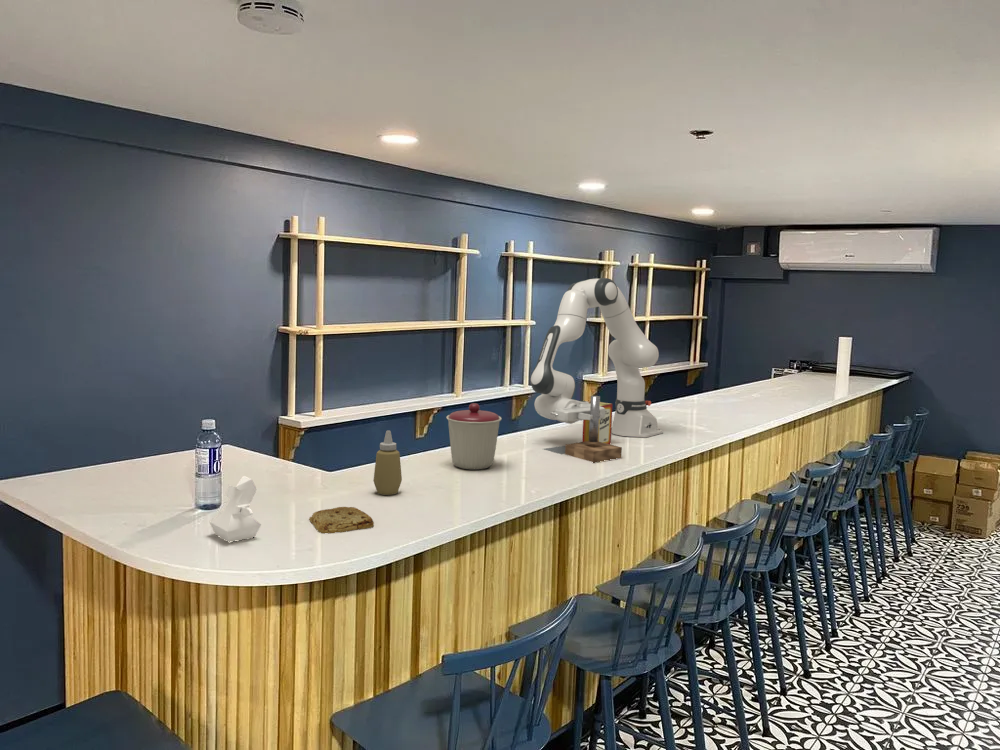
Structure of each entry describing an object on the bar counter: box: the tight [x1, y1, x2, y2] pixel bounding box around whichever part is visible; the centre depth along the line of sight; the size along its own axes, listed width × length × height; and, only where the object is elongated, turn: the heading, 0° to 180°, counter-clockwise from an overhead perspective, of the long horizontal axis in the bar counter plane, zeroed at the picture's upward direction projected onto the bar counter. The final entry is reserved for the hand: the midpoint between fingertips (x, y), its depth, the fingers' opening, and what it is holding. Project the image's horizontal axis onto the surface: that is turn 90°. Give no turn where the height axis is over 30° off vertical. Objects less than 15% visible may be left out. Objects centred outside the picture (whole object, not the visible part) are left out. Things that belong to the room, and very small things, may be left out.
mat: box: [543, 445, 565, 455], centre depth 290 cm, size 12×10×1 cm
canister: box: [445, 402, 502, 471], centre depth 260 cm, size 18×18×21 cm
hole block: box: [564, 441, 622, 464], centre depth 281 cm, size 14×14×4 cm
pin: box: [589, 395, 601, 442], centre depth 279 cm, size 3×3×16 cm
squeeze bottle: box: [373, 430, 403, 496], centre depth 225 cm, size 8×8×18 cm
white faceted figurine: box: [209, 475, 262, 542], centre depth 184 cm, size 8×14×14 cm, turn 44°
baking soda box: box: [581, 401, 613, 445], centre depth 302 cm, size 10×6×16 cm
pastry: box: [308, 506, 375, 534], centre depth 197 cm, size 17×17×3 cm
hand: (596, 417), depth 278 cm, fingers closed on pin, 3 cm apart
